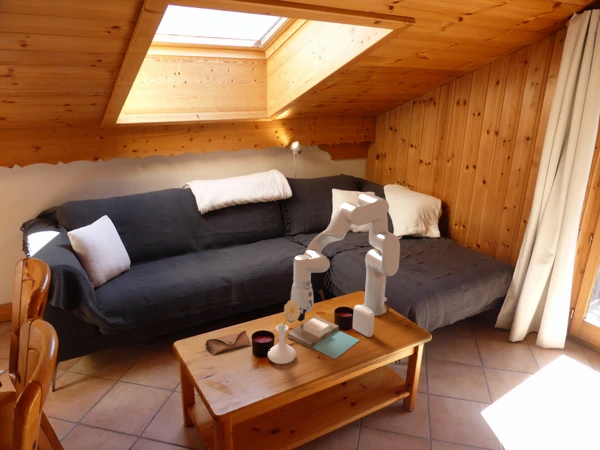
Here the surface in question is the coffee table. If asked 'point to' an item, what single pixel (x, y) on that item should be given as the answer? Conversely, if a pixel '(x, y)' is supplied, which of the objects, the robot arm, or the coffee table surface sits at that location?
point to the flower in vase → (282, 350)
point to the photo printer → (363, 320)
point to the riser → (308, 338)
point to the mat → (336, 344)
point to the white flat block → (316, 327)
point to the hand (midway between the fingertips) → (301, 319)
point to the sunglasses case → (228, 343)
